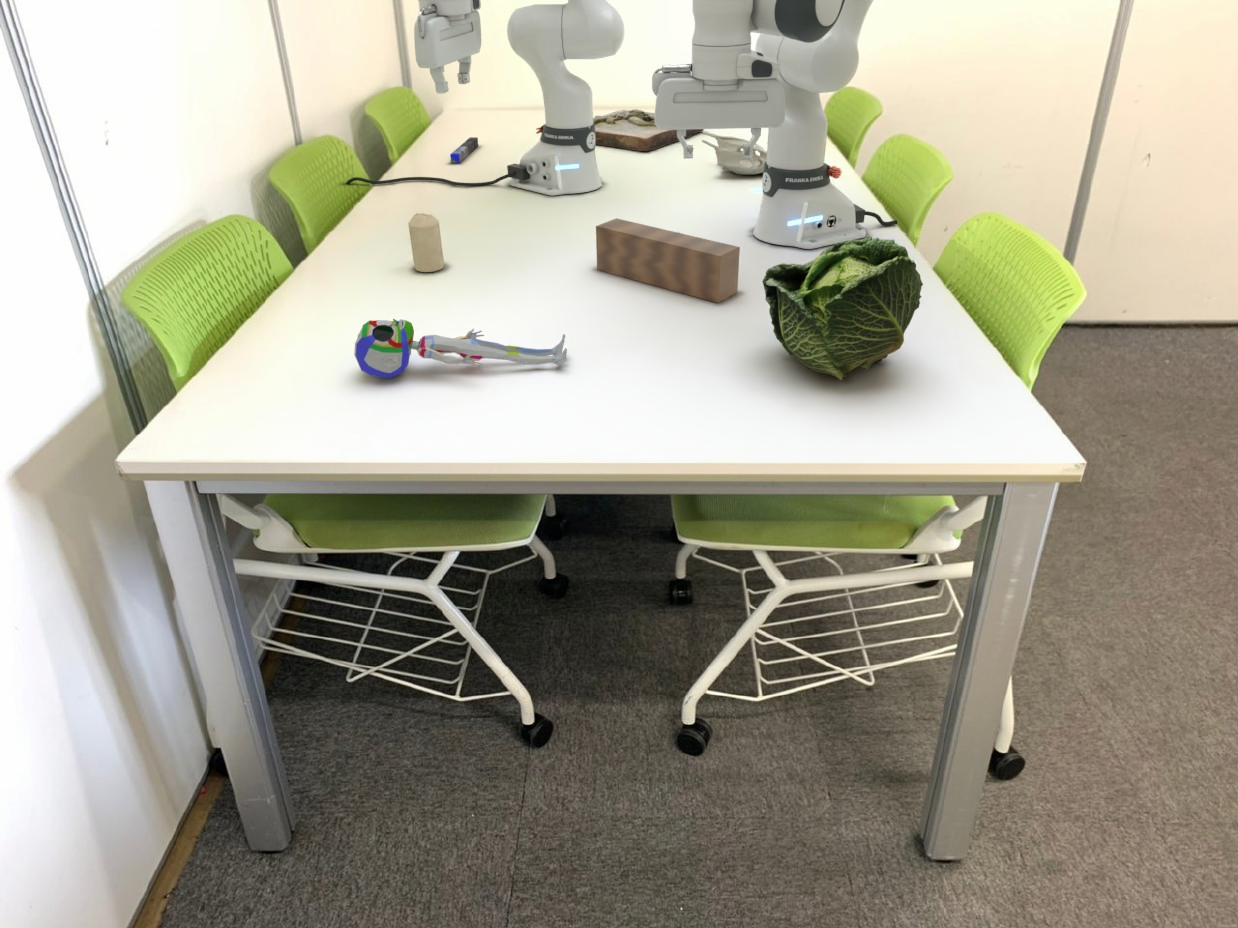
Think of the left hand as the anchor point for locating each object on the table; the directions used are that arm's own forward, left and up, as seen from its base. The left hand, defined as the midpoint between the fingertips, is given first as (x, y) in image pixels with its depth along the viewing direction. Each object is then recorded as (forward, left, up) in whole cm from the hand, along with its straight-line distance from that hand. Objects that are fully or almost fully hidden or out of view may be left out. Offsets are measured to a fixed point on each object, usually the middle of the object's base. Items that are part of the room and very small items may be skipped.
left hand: (453, 88), depth 162 cm
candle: (0, -13, -30) cm, 32 cm away
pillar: (-50, +60, -30) cm, 84 cm away
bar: (+42, +2, -30) cm, 52 cm away
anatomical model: (+26, +78, -30) cm, 88 cm away
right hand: (+52, +1, -7) cm, 53 cm away
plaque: (-20, +100, -30) cm, 107 cm away
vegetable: (+80, -16, -30) cm, 87 cm away
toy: (+33, -43, -30) cm, 62 cm away
